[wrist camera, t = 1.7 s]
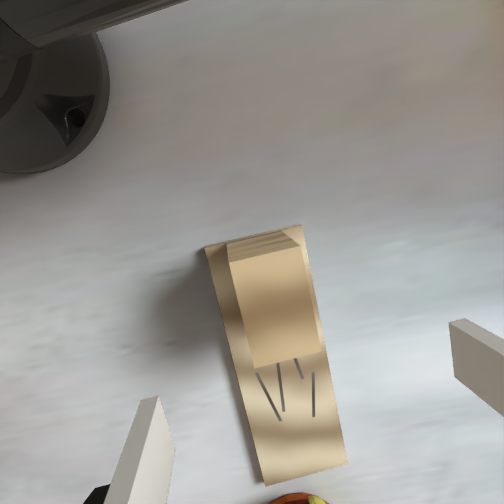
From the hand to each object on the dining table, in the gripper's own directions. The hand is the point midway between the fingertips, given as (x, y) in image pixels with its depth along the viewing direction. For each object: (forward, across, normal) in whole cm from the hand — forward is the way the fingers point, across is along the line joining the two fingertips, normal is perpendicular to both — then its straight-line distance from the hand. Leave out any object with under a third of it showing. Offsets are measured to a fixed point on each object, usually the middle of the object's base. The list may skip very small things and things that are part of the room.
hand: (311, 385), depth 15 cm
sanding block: (+17, 0, 0) cm, 17 cm away
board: (+18, 0, -9) cm, 20 cm away
